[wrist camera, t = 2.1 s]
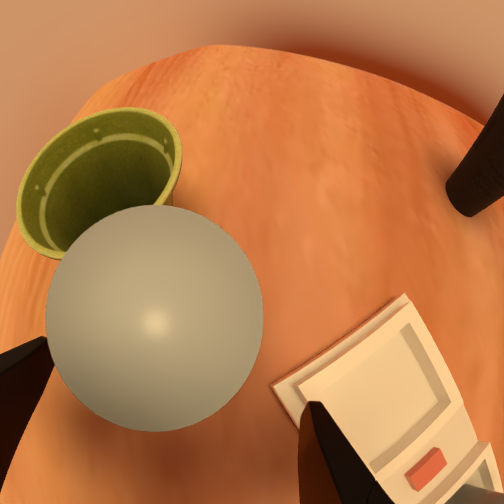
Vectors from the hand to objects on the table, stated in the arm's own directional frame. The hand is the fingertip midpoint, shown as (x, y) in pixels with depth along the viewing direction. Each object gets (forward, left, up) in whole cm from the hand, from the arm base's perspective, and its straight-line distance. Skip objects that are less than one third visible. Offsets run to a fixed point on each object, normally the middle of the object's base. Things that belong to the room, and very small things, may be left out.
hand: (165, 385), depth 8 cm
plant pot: (0, +10, -10) cm, 14 cm away
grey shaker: (+1, +1, -9) cm, 9 cm away
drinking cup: (+30, 0, -10) cm, 32 cm away
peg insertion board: (+9, -15, -9) cm, 20 cm away
